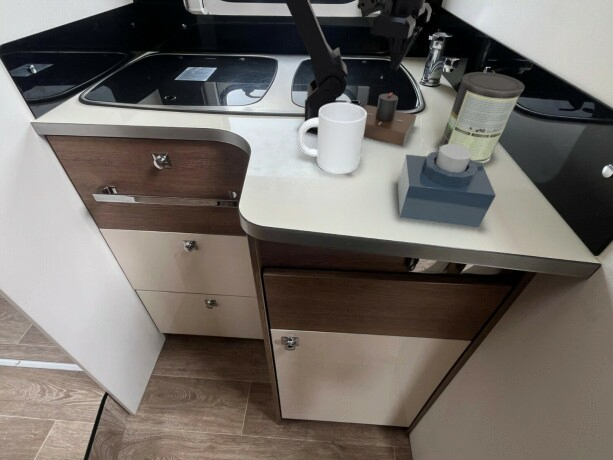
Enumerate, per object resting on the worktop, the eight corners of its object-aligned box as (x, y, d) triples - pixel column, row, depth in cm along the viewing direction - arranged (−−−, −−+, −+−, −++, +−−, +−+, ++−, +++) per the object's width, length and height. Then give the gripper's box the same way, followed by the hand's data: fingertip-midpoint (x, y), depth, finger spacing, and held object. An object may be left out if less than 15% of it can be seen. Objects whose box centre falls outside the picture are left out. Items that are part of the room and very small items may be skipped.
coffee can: (428, 143, 68) (450, 73, 58) (468, 137, 70) (495, 69, 61) (459, 168, 61) (489, 94, 51) (502, 161, 63) (539, 88, 54)
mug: (296, 174, 58) (296, 120, 51) (297, 151, 64) (298, 101, 57) (361, 176, 58) (369, 123, 51) (356, 153, 64) (364, 102, 57)
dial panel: (349, 133, 71) (351, 119, 69) (364, 116, 77) (366, 104, 75) (402, 146, 67) (405, 132, 65) (413, 127, 73) (416, 114, 71)
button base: (399, 217, 50) (412, 174, 45) (397, 185, 57) (408, 144, 51) (478, 227, 49) (501, 184, 43) (467, 193, 55) (486, 152, 50)
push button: (437, 171, 46) (442, 157, 44) (433, 156, 49) (438, 142, 48) (468, 174, 46) (474, 160, 44) (463, 159, 49) (468, 145, 47)
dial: (390, 123, 68) (395, 100, 65) (373, 119, 69) (376, 96, 66) (395, 116, 71) (400, 94, 67) (378, 112, 72) (382, 90, 69)
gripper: (383, -37, 61) (370, 52, 72) (348, -31, 49) (338, 75, 60) (442, -34, 58) (419, 60, 68) (420, -27, 45) (396, 86, 56)
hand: (394, 69), depth 63 cm, fingers closed
